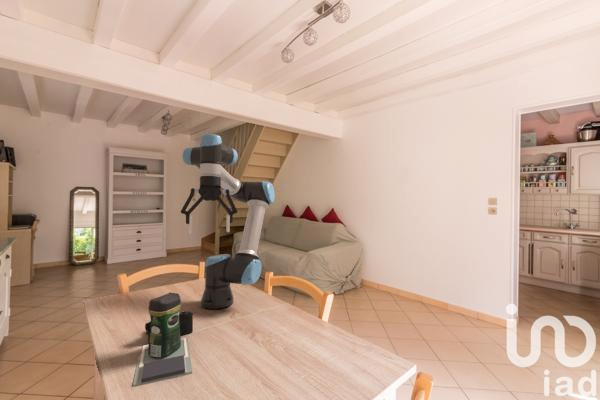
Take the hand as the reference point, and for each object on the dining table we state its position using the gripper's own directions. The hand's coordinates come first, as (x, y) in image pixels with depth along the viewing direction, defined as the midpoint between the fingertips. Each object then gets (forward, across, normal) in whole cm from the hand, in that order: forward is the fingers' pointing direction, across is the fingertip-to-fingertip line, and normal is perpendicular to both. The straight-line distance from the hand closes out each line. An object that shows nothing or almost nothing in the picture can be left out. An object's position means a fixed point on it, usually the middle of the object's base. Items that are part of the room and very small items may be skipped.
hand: (209, 232), depth 104 cm
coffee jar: (+38, +15, +7) cm, 42 cm away
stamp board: (+39, +14, +11) cm, 43 cm away
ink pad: (+39, +14, +18) cm, 45 cm away
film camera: (+39, +14, -6) cm, 42 cm away
